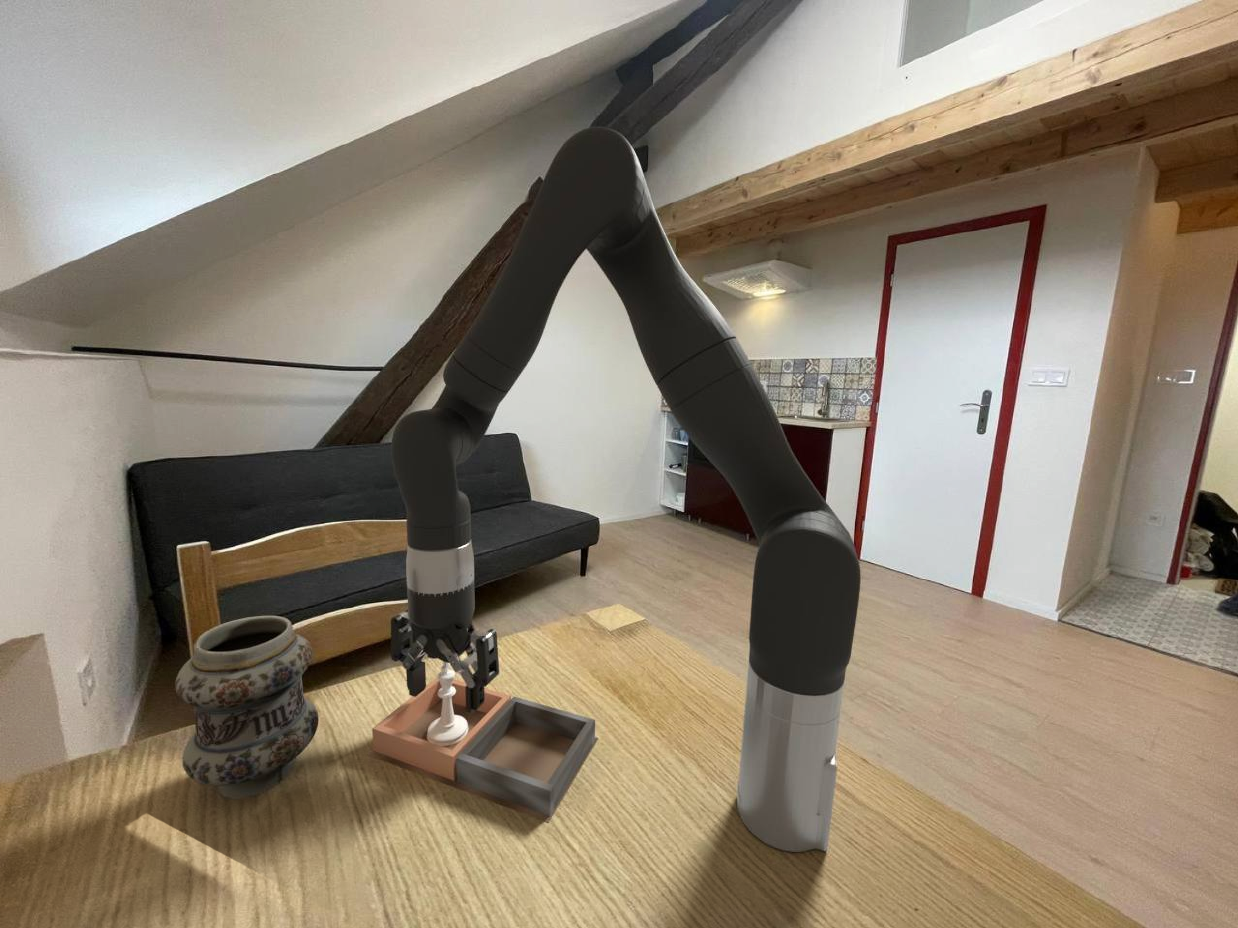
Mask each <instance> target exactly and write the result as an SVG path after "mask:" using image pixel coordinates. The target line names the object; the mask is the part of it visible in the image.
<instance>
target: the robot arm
mask: <svg viewBox="0 0 1238 928" xmlns="http://www.w3.org/2000/svg"><path fill="white" fill-rule="evenodd" d="M660 221H661V220H660V218H659V216H658V214H657V212H656V209H655V206H654V203H653V200H652V196H651V194H650V190H649V187H648V185H647V181H646V177H645V174H644V172H643V169H642V166H641V163H640V160H639V157H638V156H637V154H636V152H635V150H634V148H633V147H632V145H631V144H630V142H629V141H628V139H627V138H626V137H625V136H624V135H622V134H621V133H620V132H618V131H617V130H614V129H612V128H609V127H606V126H591V127H587V128H584V129H582V130H580V131H577V132H575V133H574V134H573V135H572V136H570V137H569V138H568V139H567V140H565V142H563V144H562V145H561V147H560V148H559V150H558V151H557V153H556V154H555V156H554V158H553V160H552V161H551V164H550V166H549V167H548V169H547V172H546V174H545V176H544V178H543V180H542V183H541V185H540V188H539V189H538V192H537V194H536V197H535V199H534V201H533V203H532V206H531V208H530V211H529V213H528V215H527V218H526V219H525V222H524V224H523V226H522V228H521V230H520V232H519V235H518V237H517V239H516V241H515V244H514V246H513V248H512V250H511V252H510V254H509V257H508V259H507V261H506V263H505V265H504V267H503V270H502V271H501V273H500V275H499V277H498V279H497V281H496V283H495V285H494V287H493V288H492V290H491V293H490V294H489V296H488V298H486V299H487V300H486V301H485V303H484V305H483V306H482V308H481V309H480V311H479V313H478V314H477V316H476V318H475V319H474V320H473V322H472V323H471V325H470V327H469V328H468V330H467V331H466V333H465V334H464V336H463V338H462V339H461V341H460V342H459V344H458V345H457V347H456V348H455V350H454V351H453V353H452V355H451V356H450V357H449V359H448V361H447V363H446V365H445V366H444V368H443V372H442V378H443V382H444V384H445V386H444V388H443V390H442V391H441V393H440V396H439V397H438V399H437V401H436V402H435V404H434V405H433V406H432V407H431V408H429V409H421V410H416V411H413V412H410V413H408V414H406V415H405V416H403V417H402V418H401V419H400V420H399V422H398V423H397V424H396V426H395V427H394V431H393V433H392V437H391V444H390V457H391V461H392V467H393V471H394V475H395V479H396V482H397V485H398V488H399V492H400V495H401V498H402V500H403V501H402V502H403V503H404V505H405V509H406V537H407V538H406V540H407V541H406V543H407V552H406V561H405V565H406V566H405V567H406V568H405V569H406V570H405V571H406V591H407V592H406V593H407V594H406V595H407V609H405V610H404V611H401V612H399V613H398V614H396V615H395V616H393V617H392V618H390V619H391V620H390V658H391V660H392V661H393V662H396V663H397V662H398V661H400V662H401V663H402V666H403V668H404V669H405V671H406V672H405V673H406V676H405V677H406V687H407V689H408V692H409V693H408V694H409V696H411V697H412V696H414V697H416V696H417V695H419V694H420V693H421V692H422V691H424V690H425V688H426V685H427V676H426V675H427V674H426V661H423V660H424V658H425V657H426V656H427V658H429V659H432V660H433V659H434V660H435V659H439V660H440V661H442V662H447V663H450V666H451V668H452V671H454V672H455V674H460V676H461V678H462V679H463V682H465V683H466V684H467V686H465V694H466V713H469V714H473V713H474V712H475V711H476V710H477V709H478V708H479V707H480V706H481V705H482V704H483V703H484V701H485V692H484V688H485V687H487V686H488V685H489V684H490V683H491V682H492V681H494V679H496V678H497V677H498V675H499V674H500V664H499V650H498V649H499V647H498V633H497V631H496V630H495V629H492V628H490V629H489V630H487V631H485V632H484V631H478V630H476V629H475V626H474V624H473V616H474V613H475V610H476V609H475V608H476V606H475V604H476V600H475V560H474V559H475V558H474V551H473V550H474V549H473V545H472V544H473V543H472V522H471V521H472V520H471V519H472V517H471V504H470V500H469V498H468V496H467V495H466V494H465V493H464V492H463V491H462V490H459V485H458V480H457V472H456V471H457V470H456V466H459V465H460V464H463V463H464V462H465V461H467V460H468V459H469V458H470V457H471V455H472V454H474V452H475V451H476V449H477V448H478V447H479V445H480V443H481V441H482V440H483V439H484V437H485V435H486V434H487V431H488V429H489V427H490V425H491V424H492V423H491V422H492V421H493V418H494V416H495V414H496V412H497V409H498V407H499V406H500V404H501V402H502V401H503V400H504V398H505V397H506V396H507V394H508V393H509V391H510V390H512V388H513V386H514V385H515V383H516V382H517V380H518V379H519V377H520V376H521V375H522V373H523V371H524V370H525V369H526V368H527V366H528V364H529V362H530V361H531V359H532V358H533V356H534V354H535V353H536V350H537V349H538V346H539V344H540V341H541V340H542V339H541V338H542V336H543V334H544V332H545V331H544V330H545V328H546V326H547V323H548V320H549V318H550V314H551V312H552V309H553V307H554V306H553V305H555V304H554V303H555V300H556V299H557V296H558V293H559V292H560V289H561V287H562V286H563V284H564V282H565V280H566V278H567V276H568V274H570V271H571V269H572V268H573V267H574V265H575V264H576V263H577V261H578V259H579V258H580V257H581V256H582V254H583V253H584V252H585V251H587V252H588V253H589V255H590V256H591V257H592V258H593V260H595V263H596V264H597V265H598V266H599V268H600V269H601V271H602V272H603V274H604V276H606V278H607V280H608V281H609V283H610V284H611V286H612V287H613V288H614V290H615V292H616V294H617V295H618V297H619V299H620V300H621V302H622V304H623V306H624V309H625V310H626V313H627V316H628V319H629V322H630V324H631V328H632V330H633V333H634V336H635V339H636V341H637V345H638V348H639V349H640V352H641V355H642V357H643V360H644V362H645V364H646V367H647V369H648V371H649V373H650V375H651V376H652V379H653V382H654V383H655V385H656V387H657V389H658V390H659V392H660V394H661V396H662V397H663V399H664V401H665V403H666V404H667V406H668V408H669V411H671V414H672V415H673V417H674V418H675V420H676V422H677V423H678V424H679V426H680V428H681V429H682V431H683V432H684V434H686V436H687V437H688V438H689V439H690V440H691V442H692V443H693V444H694V446H695V447H696V448H697V449H698V450H699V451H700V452H701V453H702V454H703V455H704V456H705V457H706V458H707V460H708V461H709V462H710V463H711V464H712V466H714V467H715V469H716V470H718V471H719V472H720V474H721V475H722V476H723V478H724V479H725V480H726V481H727V483H728V484H729V485H730V487H731V488H732V491H733V492H734V494H735V495H736V497H737V499H738V501H739V503H740V505H741V507H742V508H743V511H744V512H745V515H746V516H747V519H748V521H749V523H750V526H751V527H752V531H753V533H754V534H755V537H756V541H757V542H758V545H759V547H758V550H757V553H756V556H755V562H754V570H753V576H752V577H753V579H752V591H751V602H750V603H751V604H750V616H749V617H750V618H749V619H750V620H749V621H750V622H749V630H748V631H749V632H748V641H749V643H748V644H749V652H748V653H749V654H748V662H747V663H748V665H747V666H748V667H747V674H746V675H747V677H746V690H745V699H744V700H745V702H744V712H743V713H744V714H743V723H742V724H743V725H742V737H741V746H740V748H741V749H740V760H739V773H738V781H737V795H736V796H737V797H736V808H737V811H738V815H739V816H740V819H741V821H742V822H743V824H744V825H745V827H746V828H747V829H748V831H750V833H751V834H753V835H754V837H756V838H757V839H758V840H760V841H761V842H763V843H765V844H767V845H768V846H771V847H772V848H775V849H778V850H781V851H784V852H792V853H800V852H801V853H802V852H806V851H807V852H808V851H809V850H810V851H811V850H820V851H823V852H827V851H828V846H829V839H830V830H831V821H832V814H833V808H834V807H833V806H834V796H835V791H836V790H835V788H836V782H837V773H838V762H837V761H838V760H837V759H838V758H837V744H838V736H839V727H840V719H841V711H842V703H843V694H844V686H845V680H846V672H847V667H848V666H849V663H850V660H851V657H852V649H853V643H854V637H855V636H854V635H855V629H856V624H857V623H856V622H857V614H858V609H859V601H860V593H861V592H860V591H861V581H862V579H861V566H860V561H859V558H858V553H857V551H856V547H855V543H854V542H853V538H852V536H851V534H850V532H849V530H848V529H847V528H846V526H845V525H844V524H843V523H842V521H841V520H840V519H839V517H838V516H837V514H836V513H835V512H834V511H833V509H832V508H831V507H830V506H829V504H828V503H827V501H826V500H825V499H824V497H823V496H822V495H821V494H820V491H819V490H818V489H817V488H816V486H815V485H814V483H813V481H812V480H811V479H810V478H809V476H808V474H807V473H806V471H805V470H804V469H803V467H802V465H801V464H800V462H799V460H798V459H797V457H796V456H795V453H794V452H793V450H792V448H791V446H790V443H789V442H788V439H787V436H786V435H785V431H784V430H783V427H782V425H781V422H780V420H779V417H778V415H777V413H776V411H775V409H774V406H773V404H772V402H771V400H770V399H769V396H768V394H767V392H766V390H765V387H764V386H763V384H762V383H761V380H760V378H759V376H758V374H757V372H756V370H755V368H754V366H753V365H752V363H751V361H750V359H749V357H748V355H747V353H745V351H744V349H743V347H742V345H741V343H740V341H739V340H738V338H737V336H736V334H735V333H734V331H733V330H732V329H731V327H730V325H729V323H727V321H726V320H725V318H724V316H723V314H721V312H719V310H718V309H717V307H716V306H715V305H714V304H713V302H712V301H711V300H710V298H709V297H708V296H707V295H706V294H705V293H704V292H703V290H701V288H700V287H699V286H698V285H697V284H696V282H695V281H694V280H693V279H692V278H691V277H690V275H689V274H688V273H687V271H686V270H685V269H684V268H683V265H682V264H681V262H680V261H679V259H678V258H677V255H676V253H675V251H674V250H673V247H672V245H671V243H670V241H669V239H668V236H667V234H666V233H665V230H664V227H663V225H662V223H661V222H660ZM413 637H415V639H416V642H415V643H413V642H414V641H413V639H414V638H413ZM464 653H465V654H466V658H465V659H463V660H462V659H461V658H460V657H461V656H462V655H463V654H464ZM470 667H471V669H472V670H473V672H472V671H471V669H470Z"/></svg>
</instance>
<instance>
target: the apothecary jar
mask: <svg viewBox="0 0 1238 928" xmlns="http://www.w3.org/2000/svg"><path fill="white" fill-rule="evenodd" d="M312 658H313V649H312V645H311V643H310V642H309V641H308V640H307V639H306V638H305V637H304V636H302V635H301V634H299V633H296V631H295V630H294V627H293V624H292V622H291V621H290V620H289V619H288V618H286V617H283V616H279V615H260V616H248V617H243V618H240V619H234V620H231V621H228V622H224V623H221V624H219V625H216V626H214V627H212V628H211V629H208V630H206V631H205V632H204V633H202V634H201V635H199V637H198V638H197V639H196V640H195V642H194V645H193V654H192V657H191V658H190V659H188V660H187V661H186V662H185V663H184V664H183V666H182V667H181V669H180V670H179V671H178V673H177V676H176V678H175V683H174V688H175V692H176V695H177V696H178V697H179V698H180V700H181V701H182V702H184V703H185V704H187V705H190V706H192V707H193V710H194V711H193V712H194V723H195V725H194V726H195V730H194V732H193V734H192V735H191V736H190V737H189V739H188V741H187V743H186V744H185V746H184V749H183V753H182V757H181V758H182V759H181V762H182V768H183V770H184V772H185V774H186V776H188V777H189V778H190V779H191V780H193V781H194V782H196V783H199V784H202V785H206V786H207V785H208V786H213V787H218V792H219V793H220V794H221V795H222V796H224V797H226V798H228V799H237V800H238V799H246V798H250V797H254V796H257V795H260V794H262V793H265V792H268V791H269V790H271V789H273V788H275V787H276V786H278V785H279V784H281V782H282V781H284V780H286V779H287V778H288V777H289V776H290V774H292V772H293V771H294V769H295V768H296V765H297V761H298V760H297V759H298V758H297V757H298V756H299V755H301V753H302V752H303V751H304V750H305V749H306V748H307V747H308V746H309V744H310V743H311V742H312V740H313V739H314V737H315V736H316V734H317V733H316V732H317V730H318V727H319V721H320V720H319V712H318V710H317V708H316V706H315V704H314V703H312V702H311V701H310V700H308V699H307V698H305V695H304V687H303V678H302V677H303V676H302V675H303V674H304V673H305V672H306V671H307V669H308V667H309V666H310V664H311V662H312Z"/></svg>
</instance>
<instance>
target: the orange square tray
mask: <svg viewBox="0 0 1238 928" xmlns="http://www.w3.org/2000/svg"><path fill="white" fill-rule="evenodd" d="M452 686H453V687H454V688H455V690H456V693H455V694H454V695H453V696H452V697H451V699H452V703H455V704H458V705H461V706H465V707H466V694H465V686H467V684H466V683H465V681H461V680H459V679H456V678H454V679H453V682H452ZM441 688H442V687H441V684H440V682H439V680H438V675H437V676H436V677H435V678H434V679H432V680H431V681H430V682H429V683H428V684H427V683H426V688H425V690H424V691H422V692H421V693H420V694H419V695H417V696H416V697H414V696H411V697H410V698H408V699H407V700H406V701H405V702H404V703H402V704H401V705H400V706H398V707H397V709H395V710H394V711H392V712H391V713H390V714H388V715H387V716H386V717H384V718H383V719H382V720H381V721H380V722H378V723H377V724H376V725H375V726H374V727H372V728H371V731H372V733H371V734H372V744H373V745H372V747H373V749H374V751H375V752H378V753H381V754H383V755H386V756H389V757H392V758H394V759H397V760H400V761H402V762H405V763H408V764H410V765H413V766H416V767H418V768H421V769H424V770H426V771H429V772H432V773H435V774H437V775H440V776H443V777H445V778H448V779H451V780H453V781H454V780H455V779H456V778H457V766H456V758H457V757H458V756H459V755H460V753H461V752H462V751H463V750H464V749H465V748H466V747H467V746H468V745H469V744H470V743H471V742H472V741H473V740H474V738H475V737H476V736H477V735H478V734H479V733H480V732H481V731H482V730H483V729H484V728H485V727H486V726H487V725H488V724H489V722H490V721H491V720H492V719H493V718H494V717H495V716H496V715H497V714H498V713H499V712H500V711H501V710H502V709H503V708H504V706H505V705H506V704H507V703H508V702H509V701H510V700H511V699H512V695H511V694H507V693H503V692H499V691H497V690H493V689H489V688H485V687H484V692H485V701H484V703H483V704H482V705H481V706H480V707H479V708H478V709H477V710H478V711H481V712H484V713H487V714H486V715H485V716H484V717H483V718H482V719H481V721H480V722H479V723H478V724H477V725H476V726H475V727H474V728H473V729H472V730H471V731H470V732H469V733H468V734H467V735H466V736H465V737H464V738H463V739H462V740H461V741H460V742H459V743H458V744H457V745H456V746H455V747H454V748H453V749H452V750H451V749H448V748H445V747H442V746H439V745H437V744H434V743H431V742H428V741H425V740H422V739H419V738H416V737H414V736H411V735H408V734H405V733H402V732H403V731H405V730H406V729H407V728H408V727H409V726H410V725H412V724H413V723H414V722H415V721H416V720H417V719H418V718H420V717H421V716H422V715H423V714H424V713H425V712H427V711H428V710H429V709H430V708H431V707H432V706H434V705H435V704H436V703H437V702H438V701H439V700H440V699H442V700H443V698H440V697H439V696H438V691H439V690H440V689H441ZM373 749H372V750H373Z"/></svg>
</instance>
